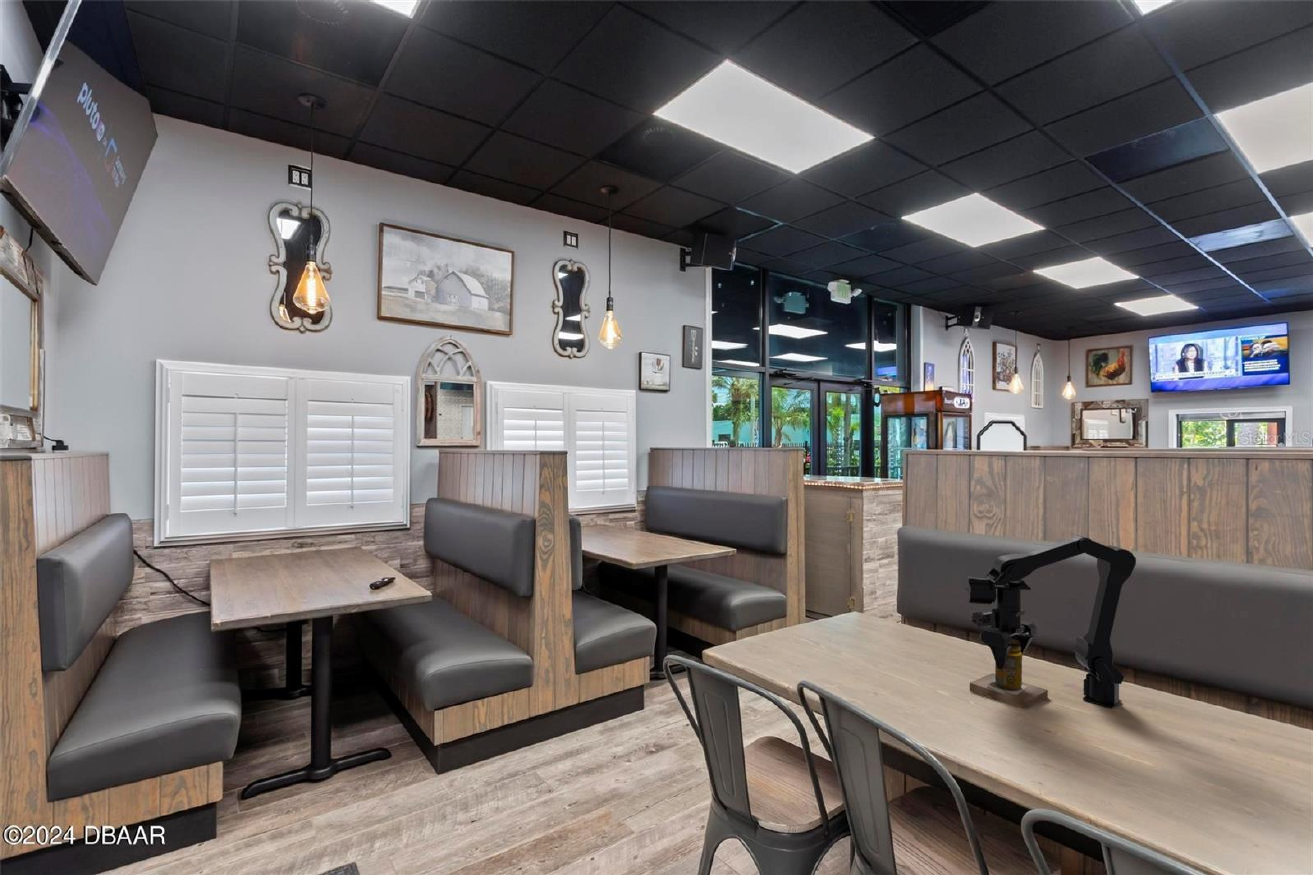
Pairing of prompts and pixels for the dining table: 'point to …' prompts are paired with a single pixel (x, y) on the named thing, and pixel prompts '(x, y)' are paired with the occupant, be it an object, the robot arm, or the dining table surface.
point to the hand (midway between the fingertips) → (1008, 665)
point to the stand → (1023, 699)
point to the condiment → (1010, 672)
